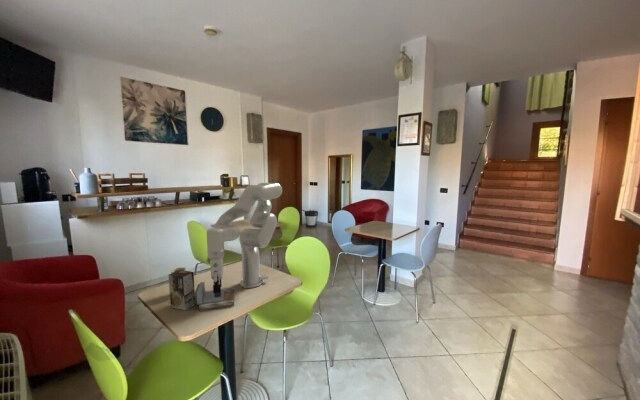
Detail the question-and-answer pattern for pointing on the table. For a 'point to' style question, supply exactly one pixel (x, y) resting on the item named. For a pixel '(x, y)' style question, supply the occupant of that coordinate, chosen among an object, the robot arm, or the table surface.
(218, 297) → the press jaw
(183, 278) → the coffee box
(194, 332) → the table surface
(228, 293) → the press bed
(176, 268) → the character mug
